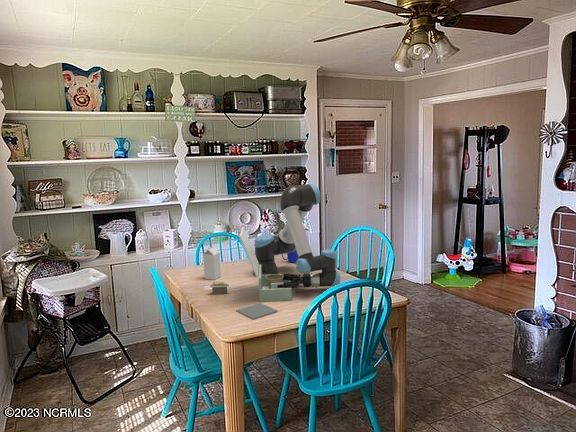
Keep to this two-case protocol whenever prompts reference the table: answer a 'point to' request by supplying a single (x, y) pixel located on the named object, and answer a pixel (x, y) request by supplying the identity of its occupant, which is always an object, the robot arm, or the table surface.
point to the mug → (292, 257)
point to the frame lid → (249, 251)
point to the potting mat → (257, 311)
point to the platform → (219, 288)
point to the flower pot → (274, 279)
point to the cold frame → (272, 290)
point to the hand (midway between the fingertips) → (270, 281)
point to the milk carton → (211, 263)
